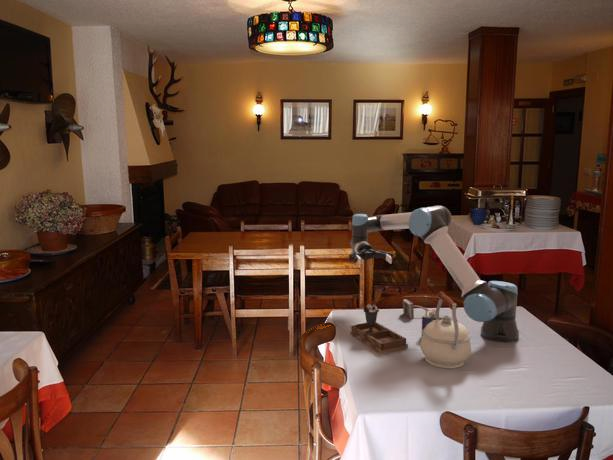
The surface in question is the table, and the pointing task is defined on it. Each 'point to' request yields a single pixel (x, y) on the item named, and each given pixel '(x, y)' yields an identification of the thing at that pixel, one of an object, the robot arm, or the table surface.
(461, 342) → the kettle
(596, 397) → the table surface
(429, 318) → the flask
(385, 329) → the crate
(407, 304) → the decorative sculpture
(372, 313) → the sundae
